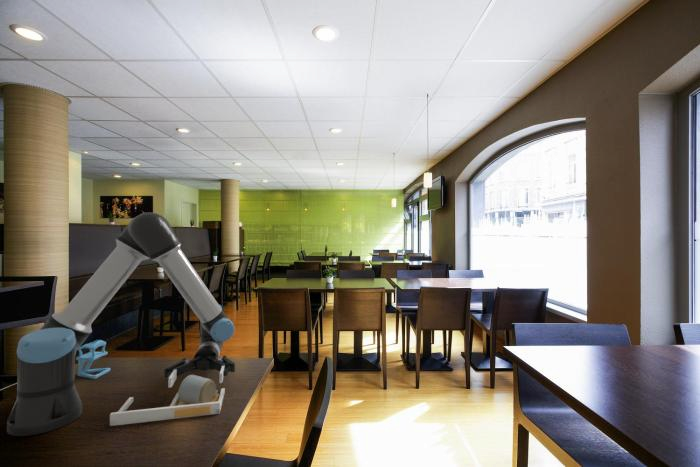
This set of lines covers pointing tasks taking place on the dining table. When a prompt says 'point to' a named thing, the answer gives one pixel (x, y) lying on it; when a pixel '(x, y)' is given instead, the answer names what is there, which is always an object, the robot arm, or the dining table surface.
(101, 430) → the dining table surface
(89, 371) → the chair
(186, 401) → the ceramic mug
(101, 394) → the dining table surface
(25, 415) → the robot arm
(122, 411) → the bay rack
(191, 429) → the dining table surface
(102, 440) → the dining table surface
